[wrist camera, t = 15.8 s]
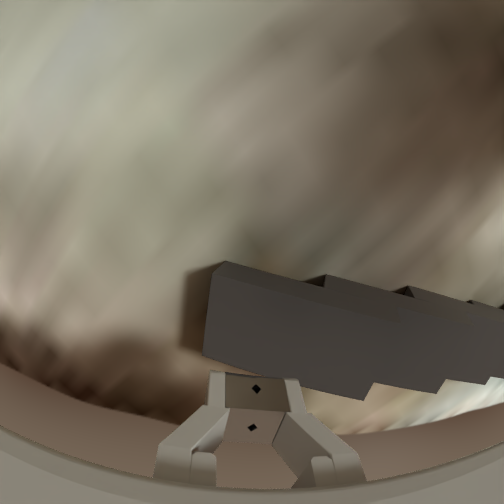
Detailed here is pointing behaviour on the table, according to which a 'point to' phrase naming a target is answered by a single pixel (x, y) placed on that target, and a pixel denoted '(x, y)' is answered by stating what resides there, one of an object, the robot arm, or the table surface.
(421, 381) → the tile
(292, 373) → the dark grey rectangular block
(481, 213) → the table surface
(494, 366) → the tile
